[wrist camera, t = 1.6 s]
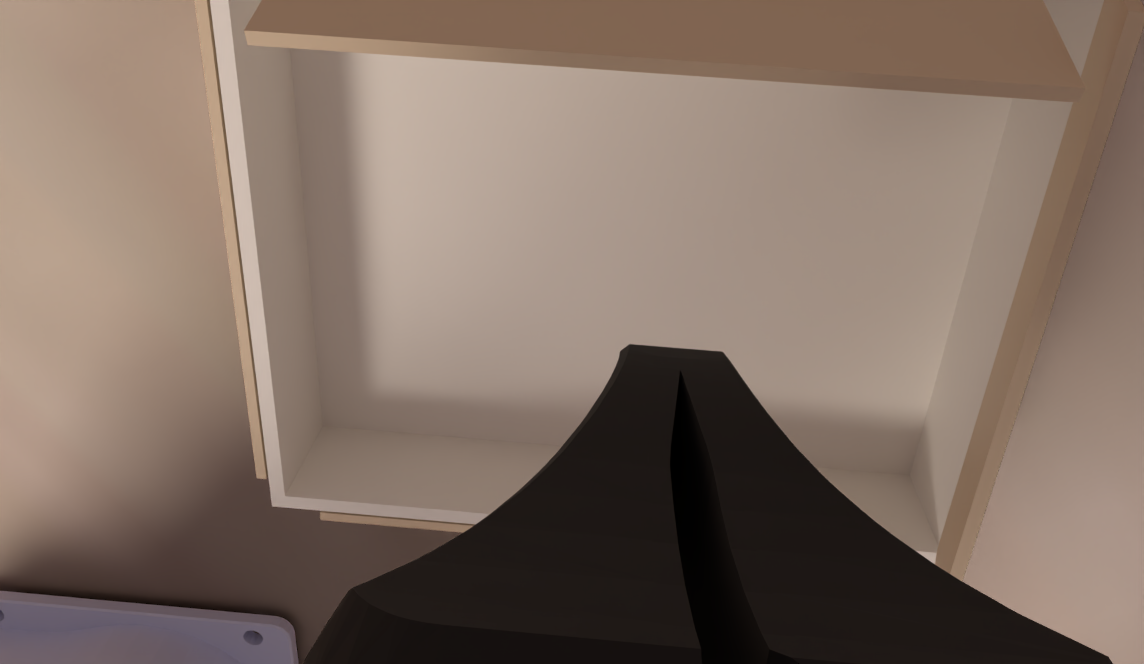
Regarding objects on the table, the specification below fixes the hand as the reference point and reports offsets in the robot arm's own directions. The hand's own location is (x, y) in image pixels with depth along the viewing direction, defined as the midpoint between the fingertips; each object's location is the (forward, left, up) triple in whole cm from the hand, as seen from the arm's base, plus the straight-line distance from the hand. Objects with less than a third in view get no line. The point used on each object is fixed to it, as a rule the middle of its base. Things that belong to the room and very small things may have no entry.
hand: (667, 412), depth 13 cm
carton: (-1, 0, -8) cm, 8 cm away
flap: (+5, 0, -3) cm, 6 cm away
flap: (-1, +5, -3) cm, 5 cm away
